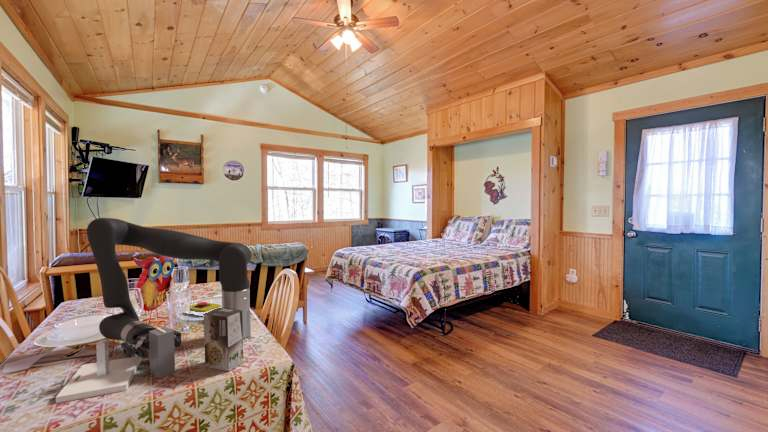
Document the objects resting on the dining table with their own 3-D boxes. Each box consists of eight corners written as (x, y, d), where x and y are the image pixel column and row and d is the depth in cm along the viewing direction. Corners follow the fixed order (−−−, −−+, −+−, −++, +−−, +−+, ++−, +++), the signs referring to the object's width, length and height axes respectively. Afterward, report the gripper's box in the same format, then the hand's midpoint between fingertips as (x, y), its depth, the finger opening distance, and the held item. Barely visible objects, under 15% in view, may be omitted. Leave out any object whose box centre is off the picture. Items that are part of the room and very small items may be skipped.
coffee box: (244, 362, 105) (243, 310, 105) (228, 372, 99) (227, 316, 99) (220, 357, 108) (219, 306, 108) (203, 367, 102) (202, 313, 101)
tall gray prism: (175, 372, 99) (174, 330, 98) (158, 378, 96) (157, 334, 95) (166, 366, 102) (165, 325, 102) (150, 372, 99) (148, 330, 98)
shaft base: (83, 369, 100) (82, 364, 100) (141, 360, 106) (141, 355, 106) (55, 403, 84) (55, 396, 84) (126, 390, 90) (126, 384, 90)
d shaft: (101, 372, 96) (100, 340, 95) (109, 370, 97) (108, 339, 96) (97, 377, 93) (96, 344, 93) (105, 376, 94) (104, 343, 93)
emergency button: (201, 298, 158) (225, 302, 152) (201, 308, 158) (225, 312, 152) (182, 304, 149) (207, 308, 144) (182, 314, 150) (207, 319, 144)
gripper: (111, 330, 102) (133, 344, 92) (164, 317, 113) (188, 328, 104) (112, 355, 102) (134, 372, 93) (165, 339, 114) (189, 352, 104)
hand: (163, 348), depth 98 cm, fingers open, 8 cm apart
